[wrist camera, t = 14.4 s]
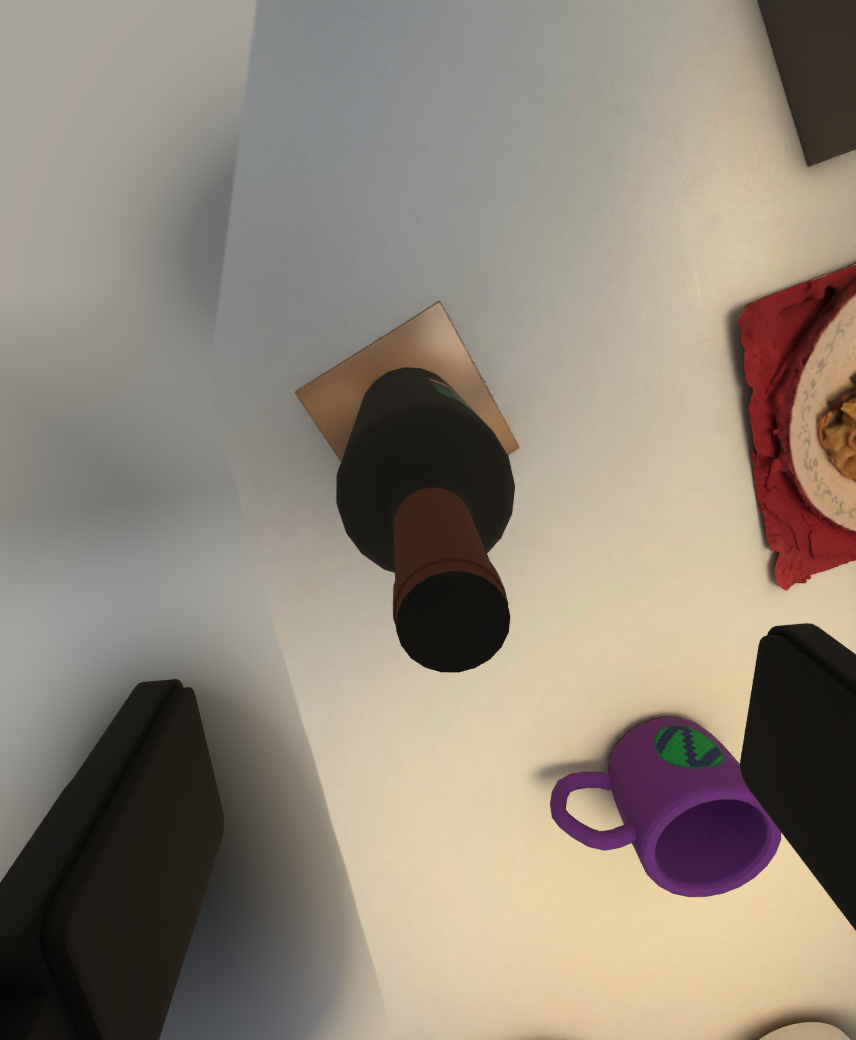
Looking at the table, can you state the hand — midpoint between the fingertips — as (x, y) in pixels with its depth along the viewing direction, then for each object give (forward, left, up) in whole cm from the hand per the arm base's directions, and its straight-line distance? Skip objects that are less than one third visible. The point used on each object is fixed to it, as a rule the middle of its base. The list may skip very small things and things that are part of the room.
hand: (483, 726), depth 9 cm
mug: (+39, +1, -35) cm, 52 cm away
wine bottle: (0, 0, -35) cm, 35 cm away
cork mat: (+1, 0, -35) cm, 35 cm away
